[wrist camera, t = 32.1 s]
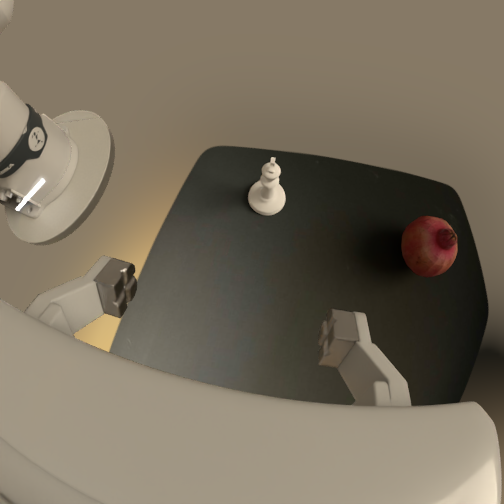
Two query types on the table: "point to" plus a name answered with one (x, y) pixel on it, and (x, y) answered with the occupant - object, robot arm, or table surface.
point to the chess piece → (267, 191)
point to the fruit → (429, 246)
